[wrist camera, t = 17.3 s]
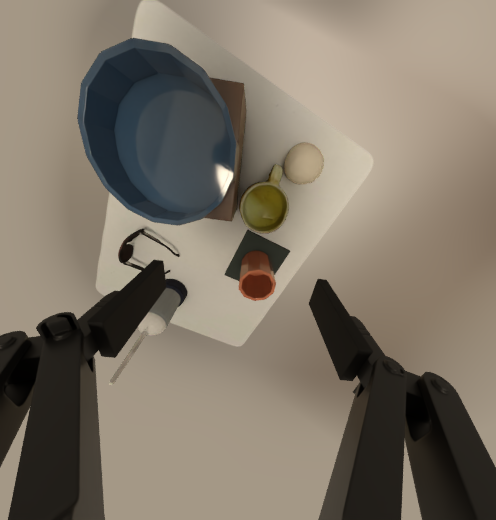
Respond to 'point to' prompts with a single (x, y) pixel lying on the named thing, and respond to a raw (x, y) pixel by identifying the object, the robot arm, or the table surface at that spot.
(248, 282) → the cup
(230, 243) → the table surface
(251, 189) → the mug
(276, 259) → the mat
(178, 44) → the table surface
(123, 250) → the sunglasses
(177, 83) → the bowl
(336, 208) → the table surface
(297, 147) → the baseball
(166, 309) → the humidifier
